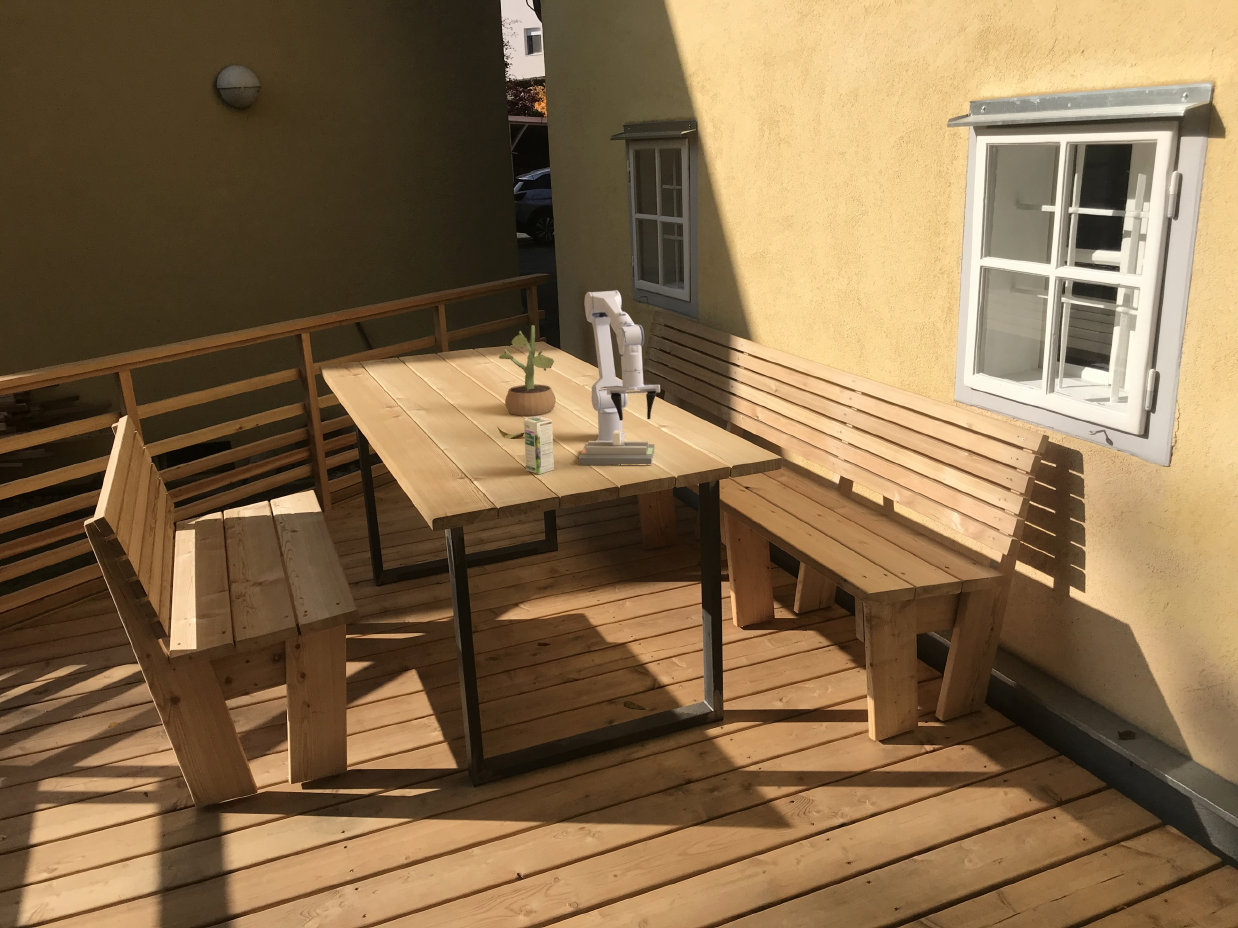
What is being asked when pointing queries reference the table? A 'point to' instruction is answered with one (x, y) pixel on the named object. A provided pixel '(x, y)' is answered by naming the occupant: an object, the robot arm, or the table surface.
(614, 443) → the breaker handle
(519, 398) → the potted plant
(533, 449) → the syrup box
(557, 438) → the table surface
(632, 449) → the breaker panel
